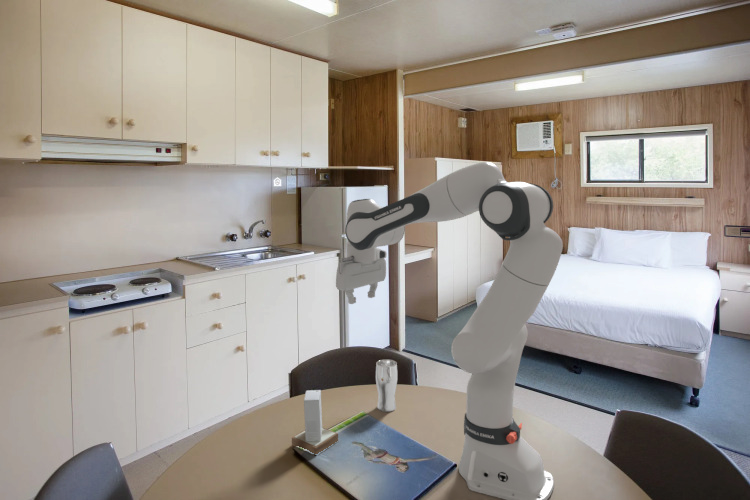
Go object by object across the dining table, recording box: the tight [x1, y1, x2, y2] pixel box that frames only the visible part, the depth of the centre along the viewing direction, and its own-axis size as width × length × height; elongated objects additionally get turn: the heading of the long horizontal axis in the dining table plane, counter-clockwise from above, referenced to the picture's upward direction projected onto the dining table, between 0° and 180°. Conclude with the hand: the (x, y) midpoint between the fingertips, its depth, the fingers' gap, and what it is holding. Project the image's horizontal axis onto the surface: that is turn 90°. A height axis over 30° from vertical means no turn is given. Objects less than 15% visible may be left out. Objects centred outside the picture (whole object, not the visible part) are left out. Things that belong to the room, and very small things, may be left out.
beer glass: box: [375, 359, 398, 413], centre depth 150 cm, size 7×7×15 cm
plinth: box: [291, 426, 339, 454], centre depth 130 cm, size 9×9×3 cm
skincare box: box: [303, 389, 323, 441], centre depth 128 cm, size 6×4×12 cm
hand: (362, 300), depth 140 cm, fingers open, 8 cm apart
